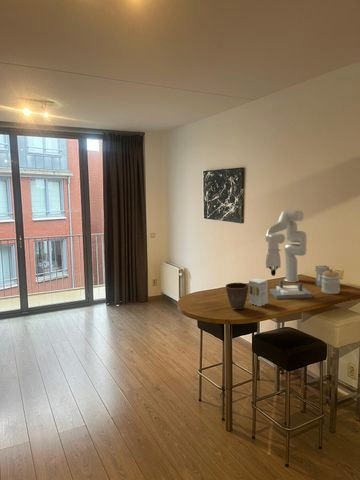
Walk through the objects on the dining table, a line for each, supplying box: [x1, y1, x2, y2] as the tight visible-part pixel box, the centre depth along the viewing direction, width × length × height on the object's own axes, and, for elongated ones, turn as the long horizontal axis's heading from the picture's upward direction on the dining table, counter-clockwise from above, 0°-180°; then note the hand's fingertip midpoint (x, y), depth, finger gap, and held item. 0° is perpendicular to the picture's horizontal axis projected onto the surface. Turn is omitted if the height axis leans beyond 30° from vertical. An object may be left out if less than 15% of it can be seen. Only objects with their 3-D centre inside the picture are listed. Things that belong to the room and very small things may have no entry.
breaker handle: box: [297, 281, 303, 291], centre depth 260 cm, size 4×2×5 cm, turn 1°
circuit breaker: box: [314, 265, 330, 287], centre depth 287 cm, size 8×14×15 cm, turn 89°
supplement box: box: [248, 277, 269, 307], centre depth 247 cm, size 10×9×17 cm
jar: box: [320, 268, 341, 295], centre depth 267 cm, size 13×13×18 cm
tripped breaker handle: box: [278, 279, 284, 288], centre depth 270 cm, size 4×2×5 cm, turn 1°
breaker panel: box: [269, 284, 313, 300], centre depth 266 cm, size 18×26×5 cm
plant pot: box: [225, 282, 249, 310], centre depth 239 cm, size 15×15×16 cm
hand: (273, 275), depth 269 cm, fingers closed
